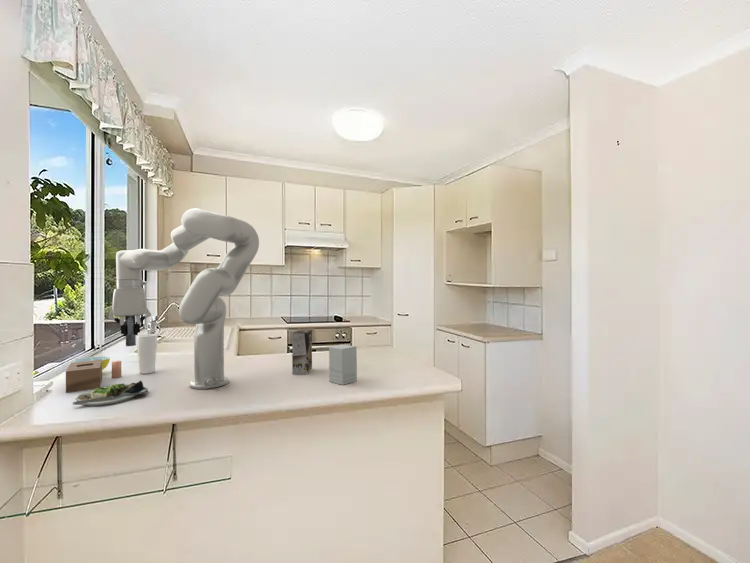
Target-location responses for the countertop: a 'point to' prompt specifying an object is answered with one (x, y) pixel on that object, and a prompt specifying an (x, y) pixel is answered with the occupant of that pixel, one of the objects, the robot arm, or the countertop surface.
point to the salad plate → (111, 394)
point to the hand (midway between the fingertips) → (130, 334)
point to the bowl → (104, 359)
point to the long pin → (130, 330)
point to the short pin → (116, 369)
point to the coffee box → (302, 352)
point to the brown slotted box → (84, 375)
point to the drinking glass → (147, 352)
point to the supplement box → (342, 364)
